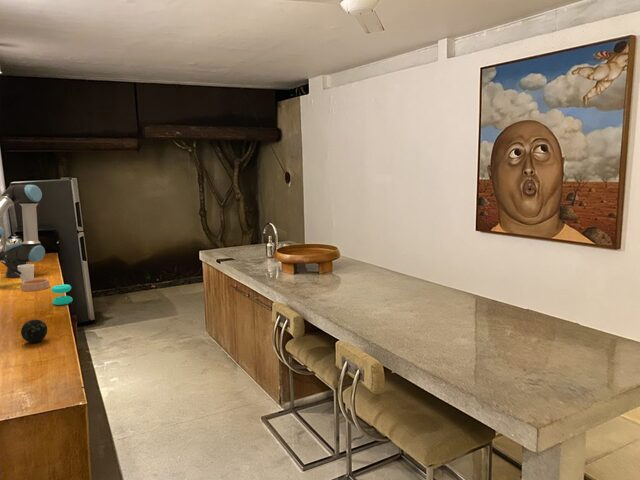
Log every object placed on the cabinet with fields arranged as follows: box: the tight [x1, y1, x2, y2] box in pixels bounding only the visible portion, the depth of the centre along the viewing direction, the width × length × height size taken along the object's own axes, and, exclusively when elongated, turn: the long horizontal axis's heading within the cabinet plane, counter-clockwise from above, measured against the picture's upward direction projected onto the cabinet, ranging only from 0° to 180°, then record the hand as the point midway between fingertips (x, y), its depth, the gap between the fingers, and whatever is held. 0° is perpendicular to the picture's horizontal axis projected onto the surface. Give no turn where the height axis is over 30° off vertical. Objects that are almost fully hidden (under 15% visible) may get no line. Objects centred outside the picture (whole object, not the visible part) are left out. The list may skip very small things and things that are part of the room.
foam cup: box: [18, 263, 35, 283], centre depth 323 cm, size 10×9×13 cm
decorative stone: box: [20, 319, 48, 344], centre depth 216 cm, size 10×10×10 cm
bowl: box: [21, 278, 50, 292], centre depth 314 cm, size 15×15×4 cm
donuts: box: [50, 284, 74, 306], centre depth 277 cm, size 10×10×10 cm
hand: (27, 274), depth 323 cm, fingers open, 13 cm apart
